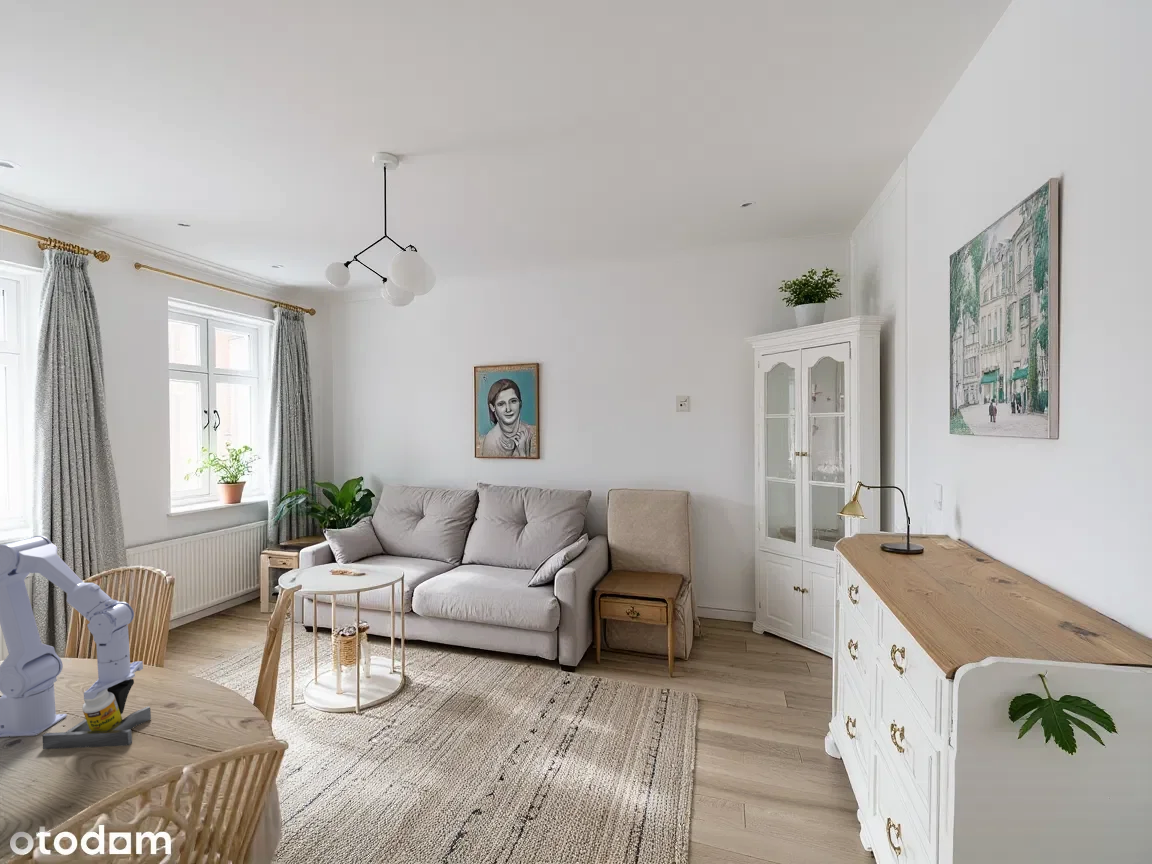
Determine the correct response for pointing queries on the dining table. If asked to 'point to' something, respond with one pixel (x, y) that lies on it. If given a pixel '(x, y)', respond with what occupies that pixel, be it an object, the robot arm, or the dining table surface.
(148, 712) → the stop cradle
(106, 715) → the supplement bottle
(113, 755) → the dining table surface
